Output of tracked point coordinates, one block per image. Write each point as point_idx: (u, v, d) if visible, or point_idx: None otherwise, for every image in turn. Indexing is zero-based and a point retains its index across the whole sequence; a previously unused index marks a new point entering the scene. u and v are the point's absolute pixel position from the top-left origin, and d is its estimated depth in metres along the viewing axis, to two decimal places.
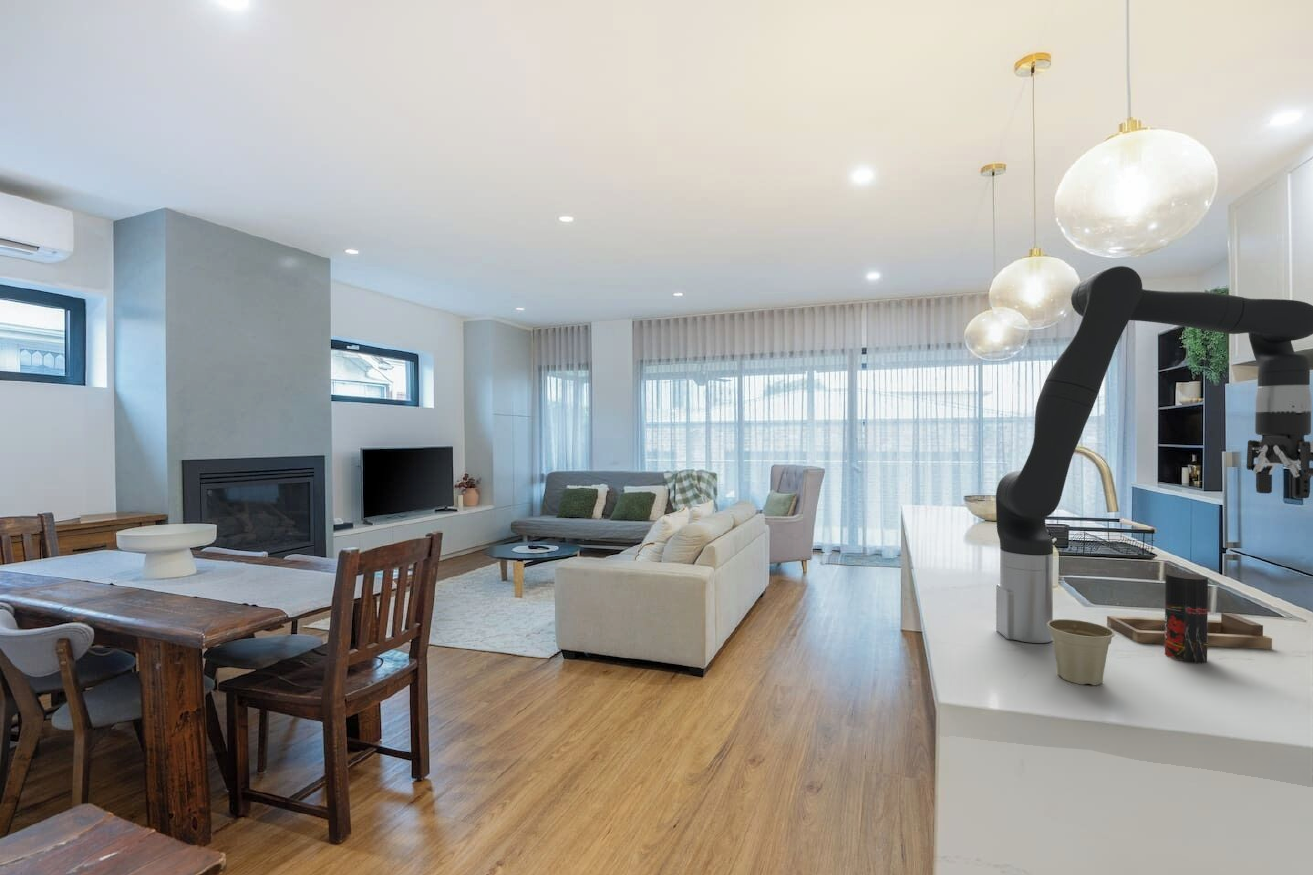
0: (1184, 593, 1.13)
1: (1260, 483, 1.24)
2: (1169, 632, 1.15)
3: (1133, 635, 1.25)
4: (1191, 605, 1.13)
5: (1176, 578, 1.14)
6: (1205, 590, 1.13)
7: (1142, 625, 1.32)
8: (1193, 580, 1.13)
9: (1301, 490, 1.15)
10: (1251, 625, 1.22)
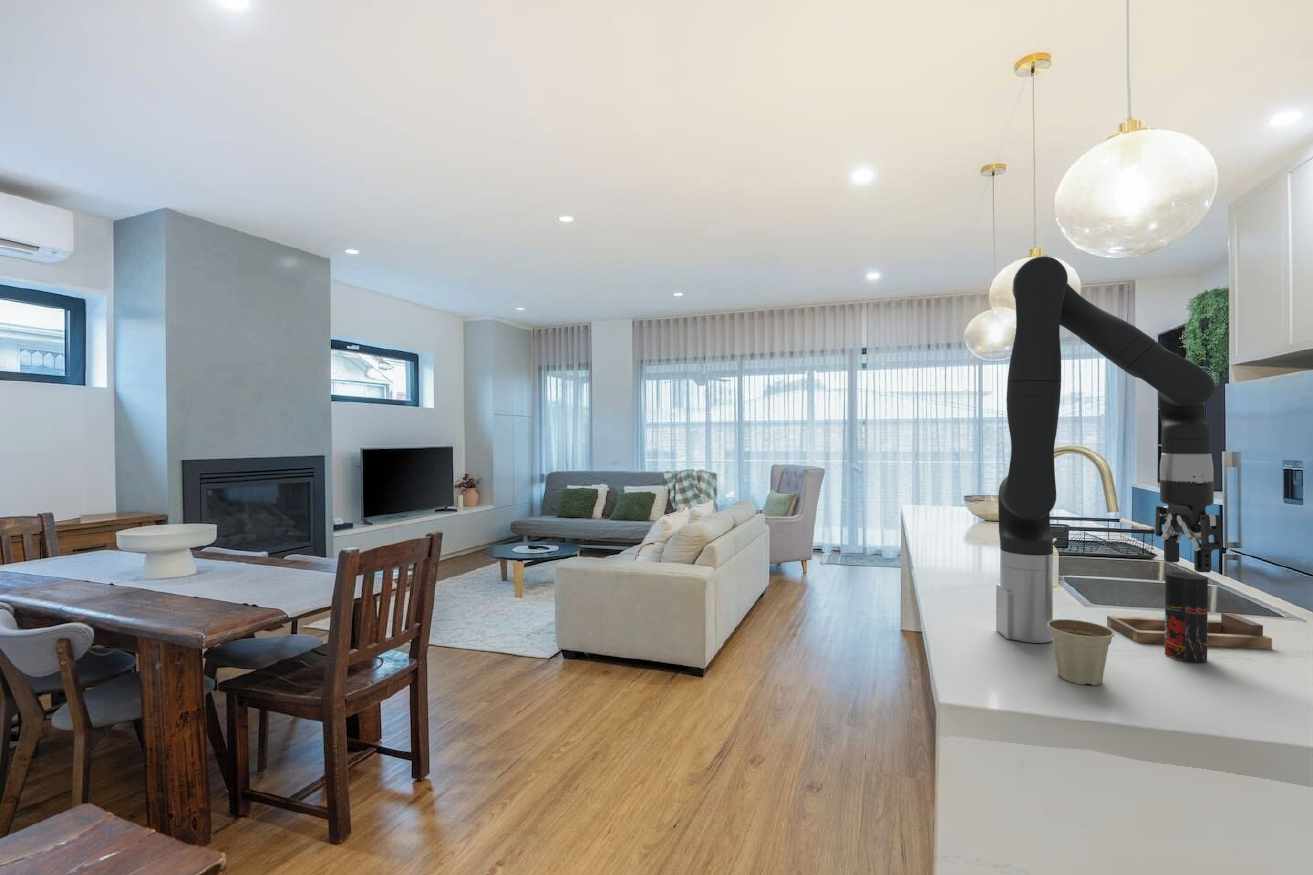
0: (1184, 593, 1.13)
1: (1167, 551, 1.19)
2: (1169, 632, 1.15)
3: (1133, 635, 1.25)
4: (1191, 605, 1.13)
5: (1176, 578, 1.14)
6: (1205, 590, 1.13)
7: (1142, 625, 1.32)
8: (1193, 580, 1.13)
9: (1202, 564, 1.10)
10: (1251, 625, 1.22)
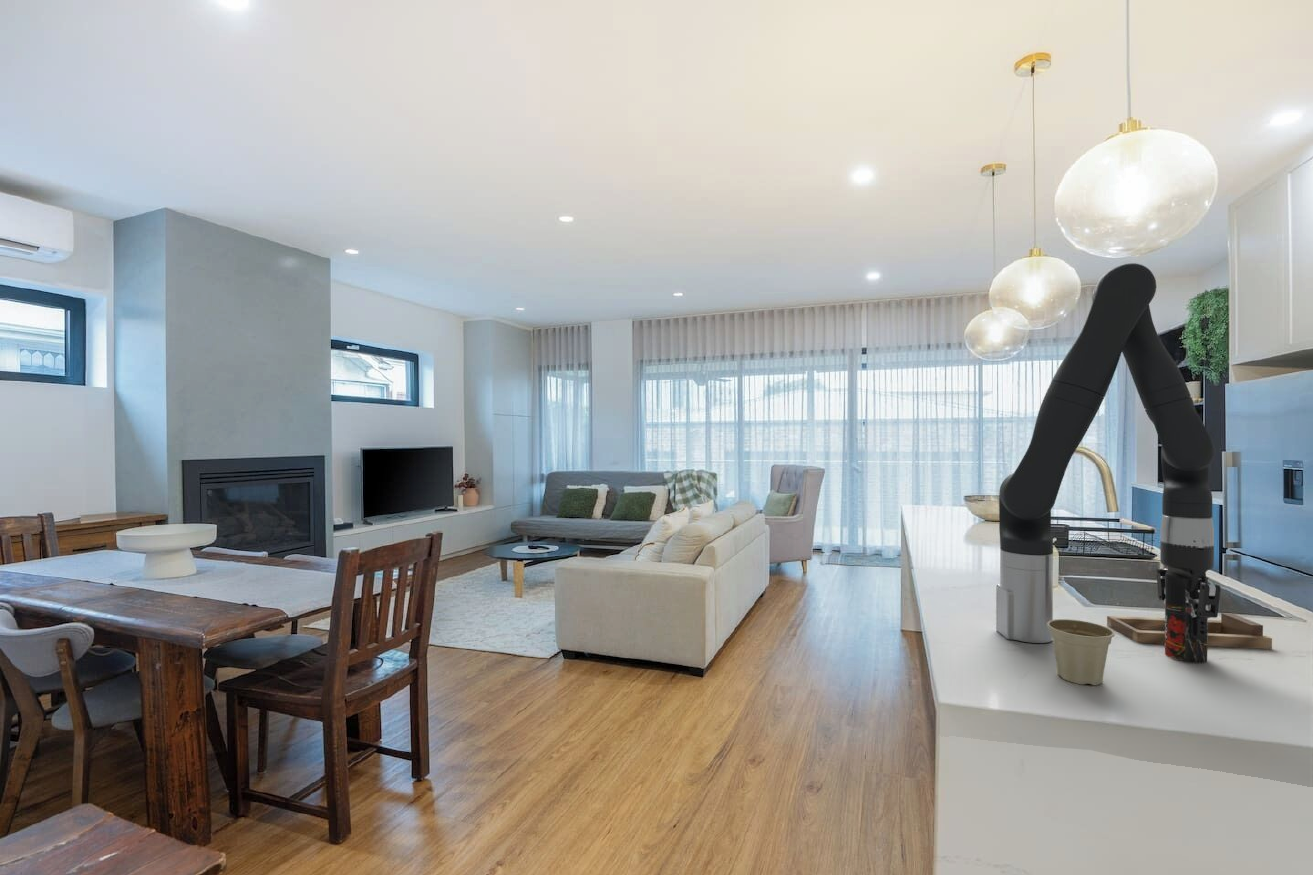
0: (1184, 593, 1.13)
1: None
2: (1169, 632, 1.15)
3: (1133, 635, 1.25)
4: None
5: (1176, 578, 1.14)
6: None
7: (1142, 625, 1.32)
8: None
9: (1198, 631, 1.11)
10: (1251, 625, 1.22)
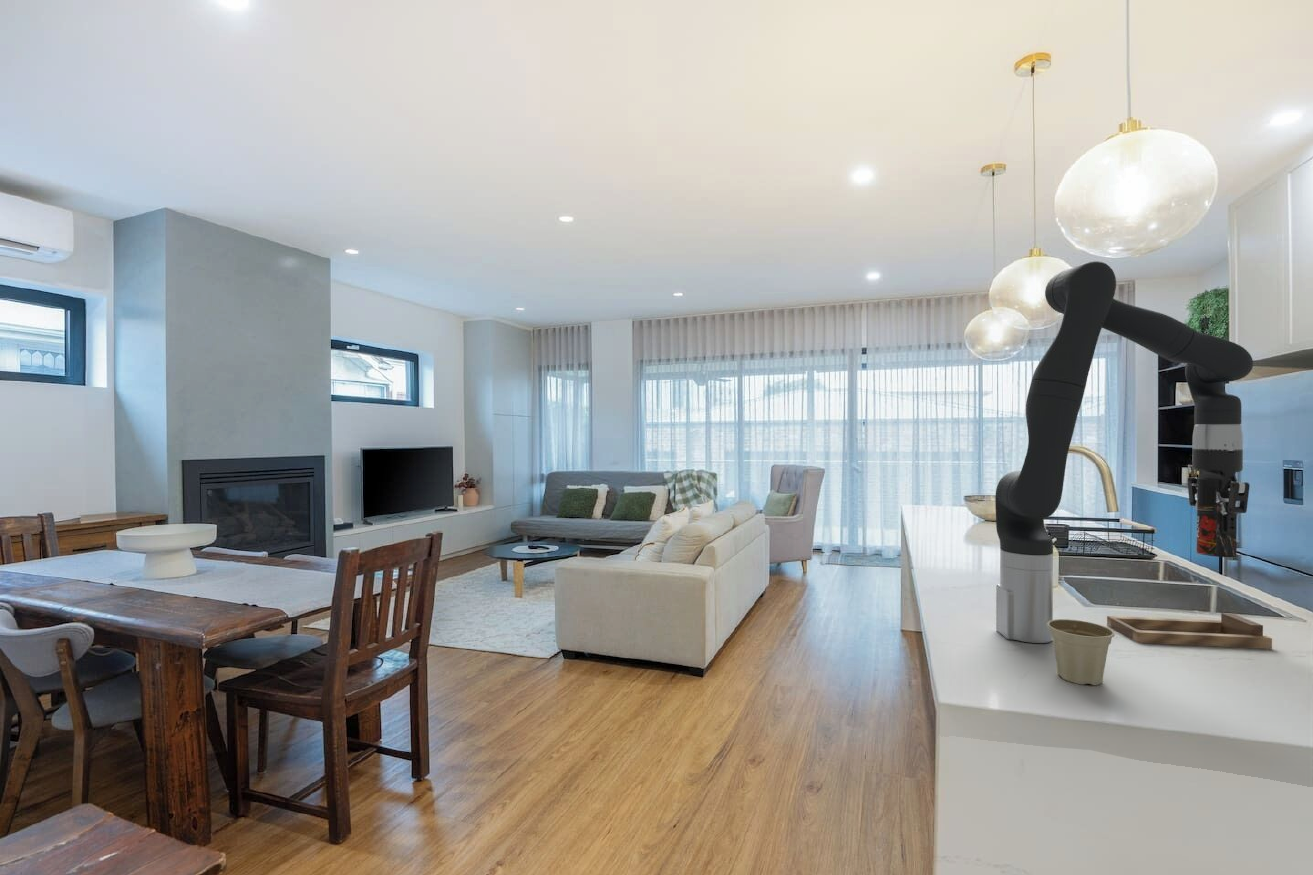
0: None
1: None
2: (1201, 531, 1.26)
3: (1133, 635, 1.25)
4: None
5: (1208, 481, 1.25)
6: None
7: (1142, 625, 1.32)
8: None
9: (1228, 527, 1.22)
10: (1251, 625, 1.22)
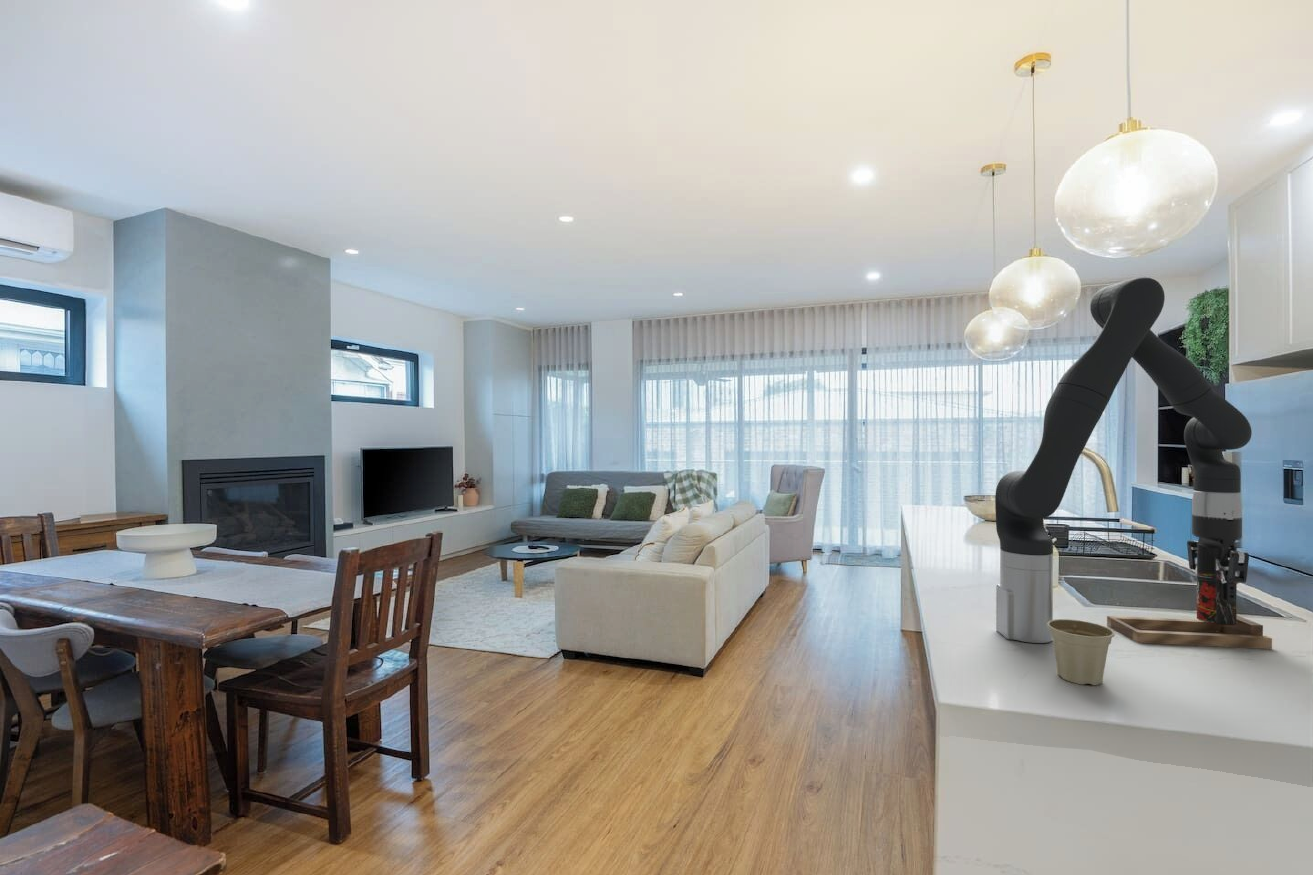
0: None
1: None
2: (1201, 598, 1.26)
3: (1133, 635, 1.25)
4: None
5: (1208, 548, 1.25)
6: None
7: (1142, 625, 1.32)
8: None
9: (1228, 596, 1.22)
10: (1251, 625, 1.22)
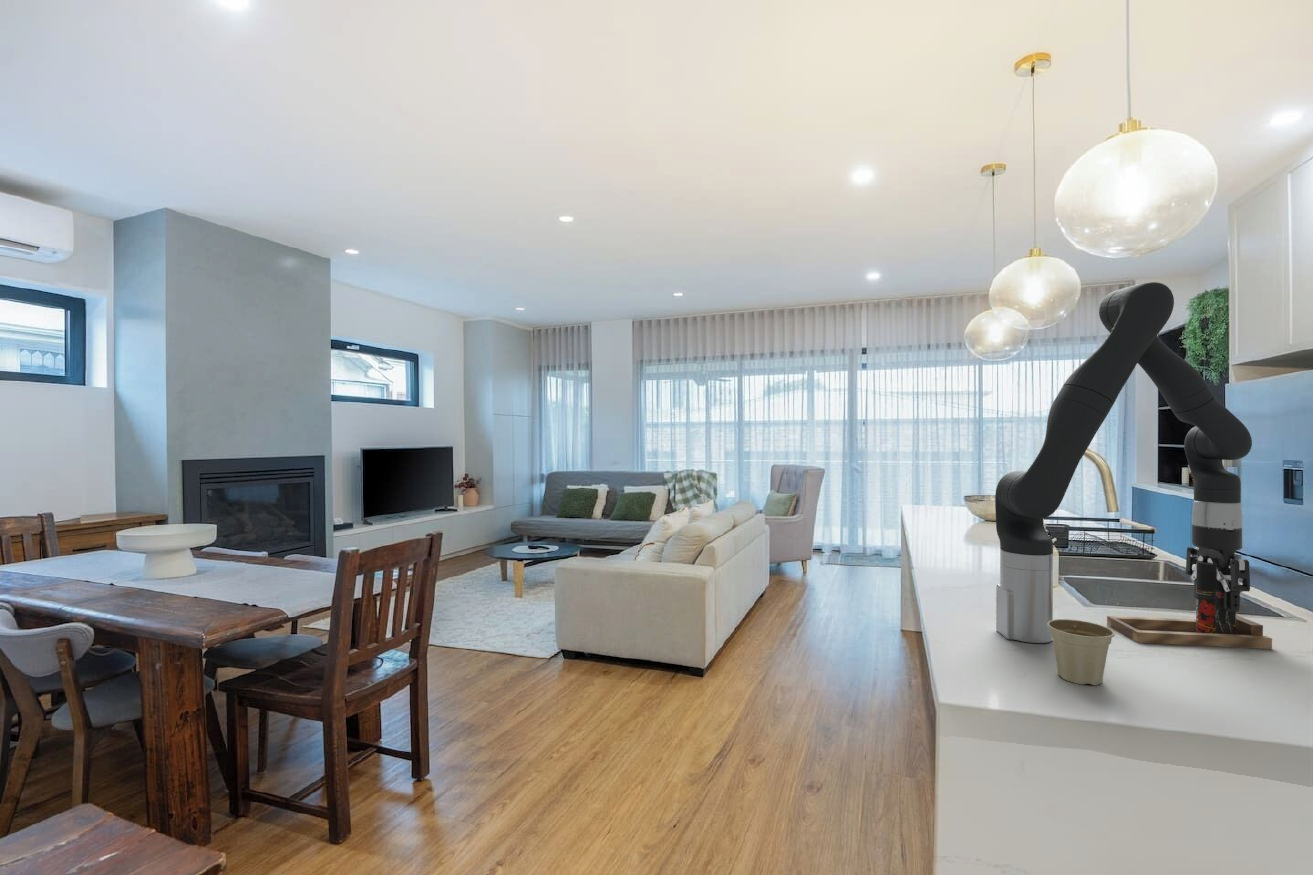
0: (1215, 579, 1.24)
1: None
2: (1201, 615, 1.26)
3: (1133, 635, 1.25)
4: (1221, 590, 1.23)
5: (1207, 565, 1.25)
6: None
7: (1142, 625, 1.32)
8: None
9: (1231, 604, 1.21)
10: (1251, 625, 1.22)
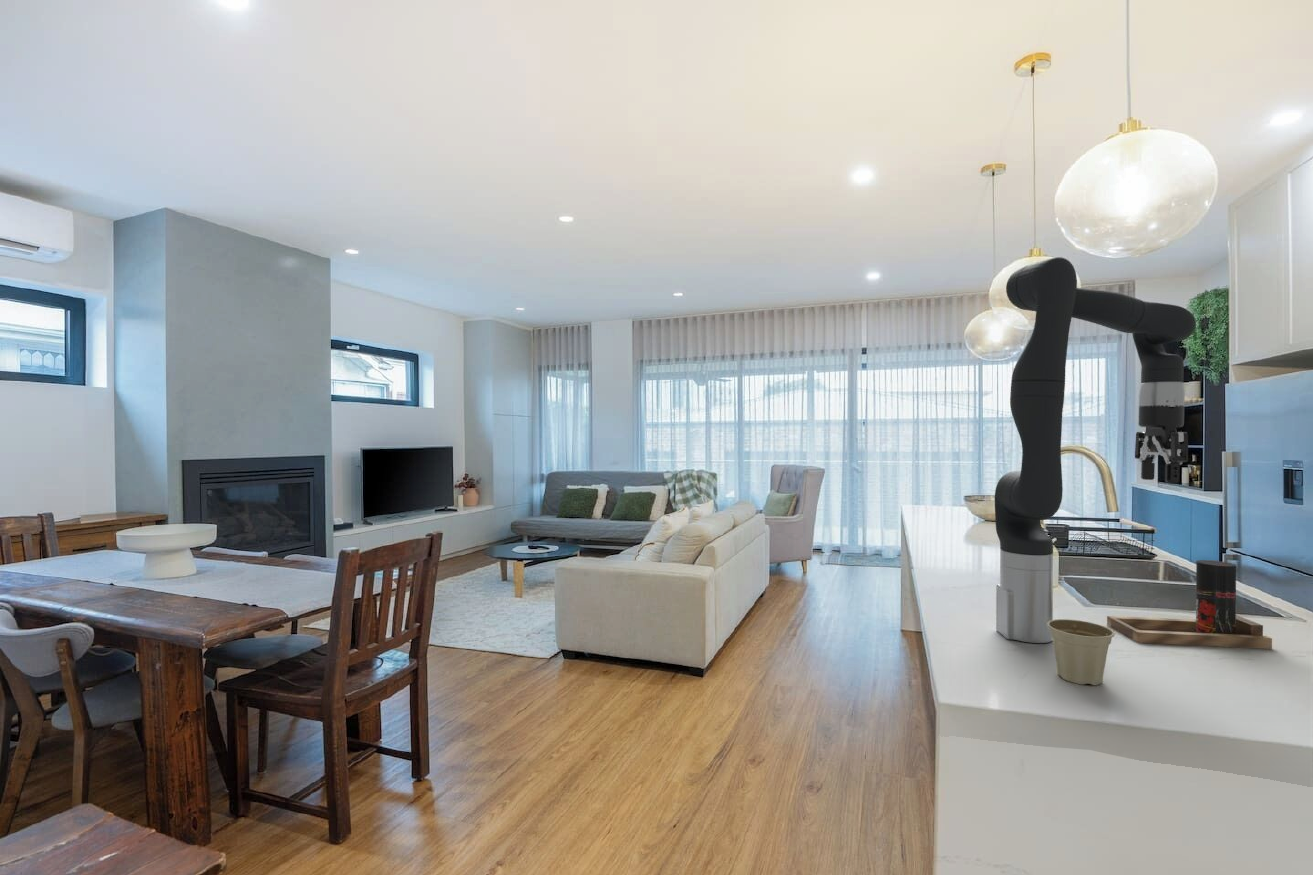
0: (1215, 578, 1.24)
1: (1144, 470, 1.37)
2: (1200, 615, 1.26)
3: (1133, 635, 1.25)
4: (1221, 590, 1.23)
5: (1207, 565, 1.25)
6: (1234, 576, 1.23)
7: (1142, 625, 1.32)
8: (1223, 567, 1.23)
9: (1171, 476, 1.28)
10: (1251, 625, 1.22)
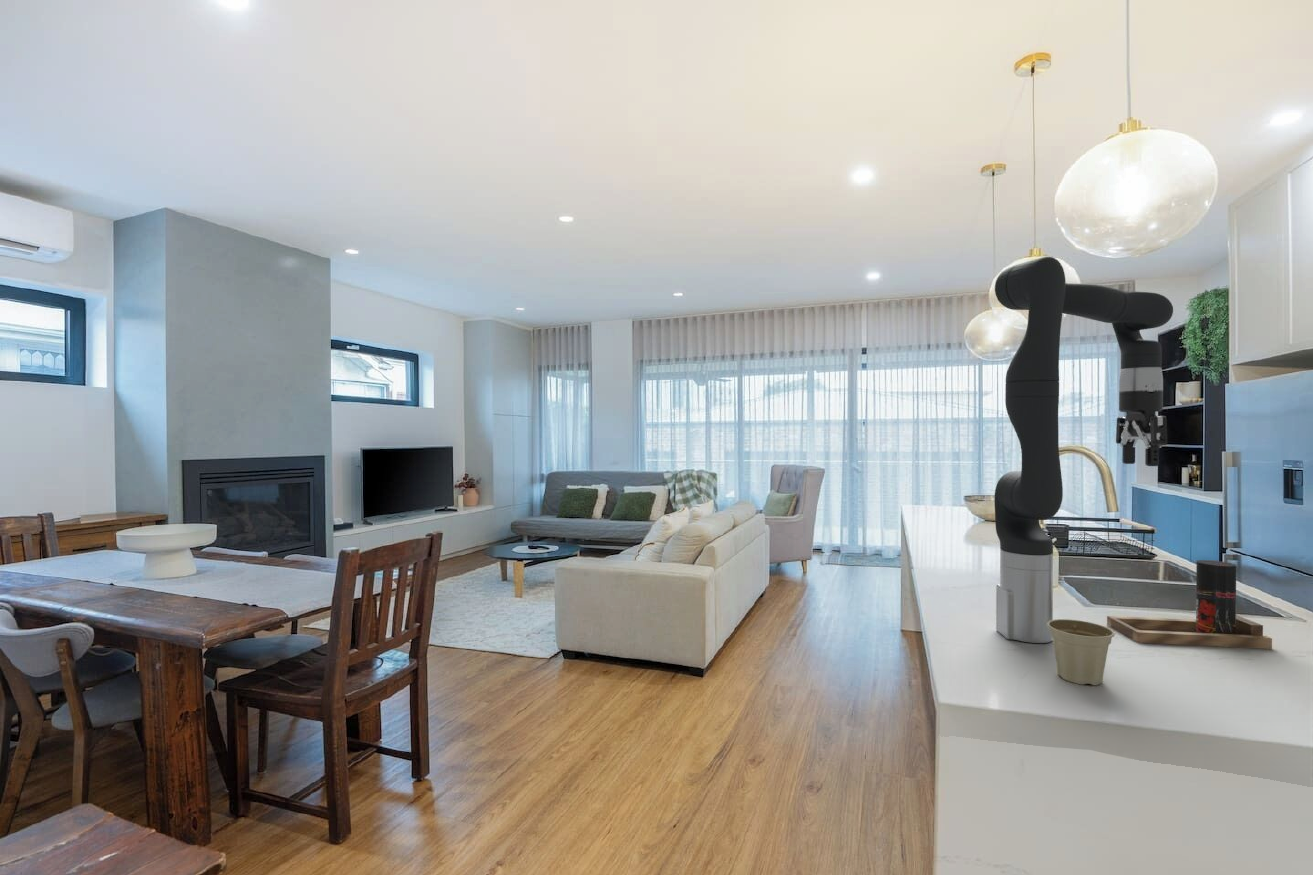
0: (1215, 579, 1.24)
1: (1125, 454, 1.40)
2: (1200, 615, 1.26)
3: (1133, 635, 1.25)
4: (1221, 590, 1.23)
5: (1207, 565, 1.25)
6: (1234, 576, 1.23)
7: (1142, 625, 1.32)
8: (1223, 567, 1.23)
9: (1151, 459, 1.31)
10: (1251, 625, 1.22)
